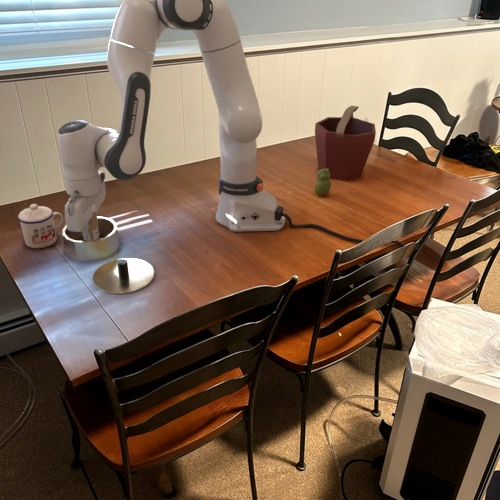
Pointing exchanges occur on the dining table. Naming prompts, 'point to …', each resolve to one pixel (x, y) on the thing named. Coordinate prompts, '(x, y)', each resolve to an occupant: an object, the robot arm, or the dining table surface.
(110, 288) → the pan lid
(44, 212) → the teacup with lid
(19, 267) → the dining table surface
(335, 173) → the bucket
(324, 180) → the green figurine
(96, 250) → the pan
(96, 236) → the sprinkles bottle
